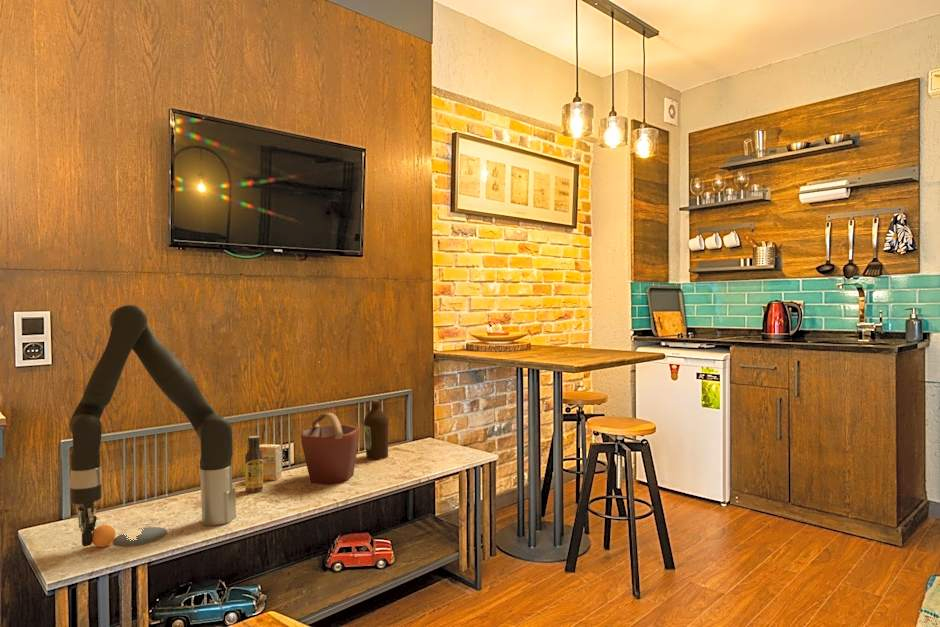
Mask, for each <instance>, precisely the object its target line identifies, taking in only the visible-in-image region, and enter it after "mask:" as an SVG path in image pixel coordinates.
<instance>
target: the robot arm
mask: <svg viewBox="0 0 940 627" xmlns="http://www.w3.org/2000/svg"><path fill="white" fill-rule="evenodd" d="M109 325H110V328H111V329H110V334H109V337H108V340H107V344H106V346H105V348H104V351H103V353H102V355H101V356H100V359H99V361H98V362H97V364H96V366H95V367H94V370H93V371H92V373H91V376H90V378H89V380H88V381H87V385H86V387H85V389H84V392H83V395H82V397H81V399H80V401H79V403H78V405H77V406H76V407H75V410H74V412H73V414H72V415H71V418H70V420H69V424H68V427H69V430H70V433H71V434H72V450H71V455H70V476H69V496H70V497H69V498H70V500H69V501H70V503H71V504H73V505H78V507H77V508H76V515H77V522H78V528H79V530H80V532H81V545H82V546H83V547H89V546H91V545H93V543H92V532H93V531H94V530H95V529H96V524H97V523H96V522H97V519H98V516H97V515H96V513H97V512H96V511H97V507H96V506H95V505H94V503H96V502H98V501H100V500H101V499H102V497H103V495H102V494H103V490H102V489H103V484H102V480H103V478H102V475H103V474H102V469H101V441H102V429H103V428H102V421H101V420H100V419H101V417H102V415H103V412H104V410H105V408H106V407H107V406H109V403H110V402H111V400H112V397H113V395H114V393H115V392H116V387H117V385H118V384H119V382H120V379H121V378H120V377H121V375H122V372H123V370H124V368H125V365H126V363H127V359H128V357H129V356H130V353H131V351H133V352H134V353H135V355H136V356H137V358H138V359H139V360H140V362H141V364H142V365H143V367H144V368H145V370H146V372H147V373H148V374H149V376H150V377H151V379H152V381H154V383H155V384H156V386H158V388H159V389H160V390H161V391H162V393H163V394H164V395H165V396H166V397H167V398H168V400H170V401H171V403H173V404H174V405H175V406H176V407H177V408H178V409H179V410H180V411H181V412H182V413H183V414H184V416H185V417H186V418H187V420H188V421H189V423H190V425H191V427H192V428H193V430H194V431H195V433H196V434H197V437H198V438H199V439H200V459H199V474H200V476H199V478H200V479H199V480H200V497H201V498H200V500H201V503H200V504H201V522H202V525H204V526H218V525H223V524H230V523H231V521H233V520H234V519H235V518H237V504H236V501H237V500H236V488H235V487H234V486H233V473H232V472H233V471H232V470H233V469H232V467H233V466H232V459H233V455H234V452H233V450H234V449H233V447H234V446H233V429H232V425H231V423H230V422H229V420H227V419H226V418H224V417H223V416H222V415H221V414H219V413H218V412H217V411H216V410H215V409H214V407H212V406H211V404H210V403H208V401H207V400H206V399H205V397H204V396H203V394H202V392H201V390H200V388H199V386H198V384H197V382H196V381H195V378H194V377H193V375H192V374H191V373H190V372H189V370H188V368H186V366H185V365H184V364H183V362H182V361H181V360H180V358H178V357H177V356H176V354H174V353H173V352H172V351H171V350H170V349H169V348H167V347H166V346H165V345H164V344H163V343H162V342H161V341H160V340H159V339H158V338H157V336H156V335H155V333H154V332H153V330H152V329H151V327H150V326H149V324H148V316H147V314H146V312H145V310H143V309H142V308H141V307H140V306H137V305H134V304H127V305H126V304H125V305H122V306H120V307H117V308H116V309H115V310H113V312H112V313H111V315H110V317H109Z"/></svg>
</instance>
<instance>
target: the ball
mask: <svg viewBox="0 0 940 627" xmlns="http://www.w3.org/2000/svg"><path fill="white" fill-rule="evenodd" d="M115 538H116V530H115V528H114V527H113V526H111V525H109V524H101V525H99V526H97V527H95V529H94V531H92V545H94V546H95V547H98V548H105V547H107V546H109V545H110V544H111V543H113V540H114V539H115Z"/></svg>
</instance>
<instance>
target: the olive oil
mask: <svg viewBox="0 0 940 627" xmlns="http://www.w3.org/2000/svg"><path fill="white" fill-rule="evenodd" d="M363 430H364V442H365V452H366V453H365V455H366V459H368V460H373V461H374V460H382V459H383V460H384V459H386V458H388V457H389V418H388V415H387V414H385V413H384V411H383V410H381V408H380V400H379V399H372V400H371V409H370V411H369V412H368V413H367V414H366V415H365V418H364V420H363Z"/></svg>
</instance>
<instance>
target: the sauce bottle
mask: <svg viewBox="0 0 940 627" xmlns="http://www.w3.org/2000/svg"><path fill="white" fill-rule="evenodd" d="M260 440H261V437H260V435H250V436H248V438H247V441H248V449H247V452H246V454H245V463H244V487H245V492H246V493H258V492H262V490H263V486H264V480H263V455H262V452H261V450H260V446H259V445H260Z"/></svg>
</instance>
